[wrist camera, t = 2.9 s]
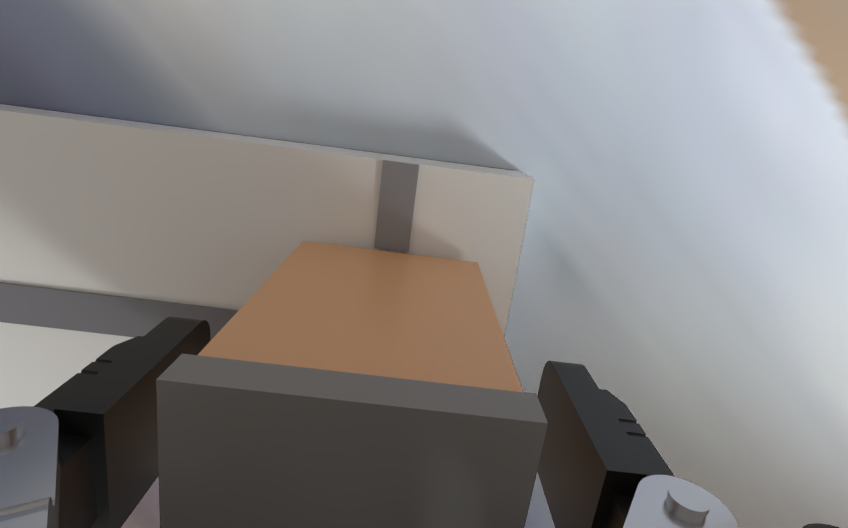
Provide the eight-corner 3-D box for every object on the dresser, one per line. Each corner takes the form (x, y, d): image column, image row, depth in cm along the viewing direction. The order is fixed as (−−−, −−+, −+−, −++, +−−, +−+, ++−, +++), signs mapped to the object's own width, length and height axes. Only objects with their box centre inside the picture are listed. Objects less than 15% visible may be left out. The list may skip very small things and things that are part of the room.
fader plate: (521, 171, 13) (535, 179, 11) (468, 468, 15) (472, 509, 14) (-218, 75, 12) (-312, 70, 11) (-146, 403, 15) (-213, 437, 13)
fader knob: (482, 258, 12) (548, 422, 6) (450, 450, 13) (474, 749, 7) (299, 236, 11) (156, 379, 5) (287, 433, 13) (165, 721, 7)
